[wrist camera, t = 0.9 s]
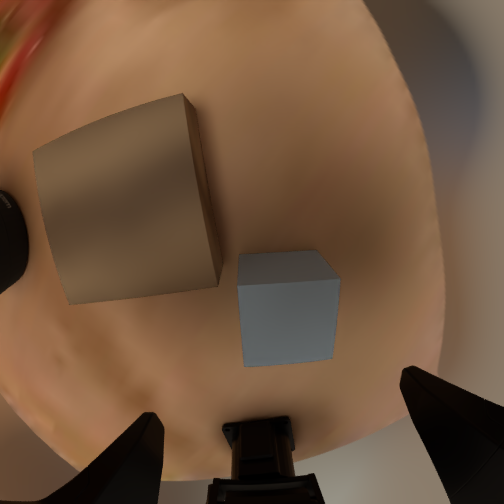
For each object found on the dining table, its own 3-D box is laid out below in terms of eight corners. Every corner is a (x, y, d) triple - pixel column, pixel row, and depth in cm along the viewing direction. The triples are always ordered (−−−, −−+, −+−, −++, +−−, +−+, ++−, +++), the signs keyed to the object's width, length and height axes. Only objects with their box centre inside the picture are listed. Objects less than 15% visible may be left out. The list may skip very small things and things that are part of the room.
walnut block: (223, 261, 18) (218, 286, 14) (96, 281, 18) (69, 305, 14) (196, 109, 15) (182, 93, 11) (66, 151, 15) (32, 151, 12)
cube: (313, 316, 19) (332, 358, 14) (244, 321, 19) (244, 366, 14) (316, 249, 18) (340, 278, 13) (239, 254, 18) (237, 285, 13)
